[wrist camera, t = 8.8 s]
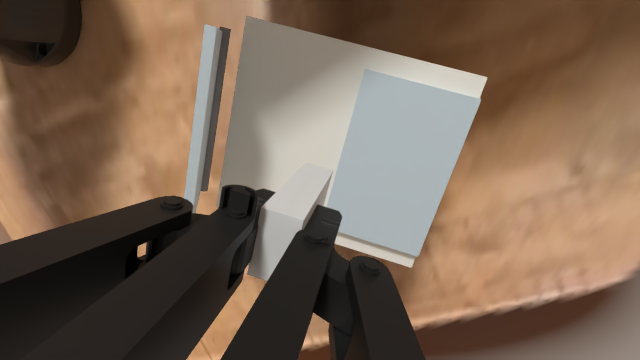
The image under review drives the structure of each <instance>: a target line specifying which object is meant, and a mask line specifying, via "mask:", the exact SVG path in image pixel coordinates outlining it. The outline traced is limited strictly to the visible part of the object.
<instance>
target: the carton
mask: <svg viewBox="0 0 640 360" xmlns="http://www.w3.org/2000/svg"><path fill="white" fill-rule="evenodd" d="M487 78H488V77H484V76H480V75H477V74H473V73H469V72H465V71H461V70H457V69H453V68H449V67H445V66H441V65H437V64H433V63H429V62H426V61H422V60H418V59H414V58H410V57H406V56H402V55H398V54H394V53H390V52H386V51H382V50H379V49H375V48H371V47H367V46H363V45H359V44H355V43H351V42H347V41H343V40H339V39H335V38H331V37H328V36H324V35H320V34H316V33H312V32H308V31H304V30H300V29H296V28H292V27H288V26H284V25H280V24H277V23H273V22H269V21H265V20H261V19H257V18H253V17H249V16H246V21H245V27H244V34H243V40H242V46H241V53H240V59H239V66H238V72H237V79H236V85H235V91H234V98H233V104H232V111H231V117H230V123H229V130H228V136H227V143H226V149H225V155H224V162H223V168H222V175H221V181H220V187H219V194H218V200H217V206H218V207H219V203H220V197H221V191H222V187H223V186H226V185H233V184H234V185H243V186H247V187H250V188H252V189H254V190H259V189H263V188H264V189H267V190H270V191H274V192H277V191H278V190H279V189H280V188H281V187H282V186H283V185H284V184H285V183H286V182H287V181H288V180H289V179H290V178H291V177H292V176H293V175H294V174H295V173H296V172H297V171H298V170H299V169H300V168H301V167H302V166H303V165H304V164H305V163H306V162H307V163H310V164H314V165H317V166H320V167H324V168H327V169H330V170H333V173H332V177H331V180H330V184H329V188H328V191H327V195H326V199H325V202H324V206H325V207H328V208H331V209H334V210H337V211H340V213H341V215H342V220H341V223H340V227H339V230H338V233H337V237H336V240H335V243H334V244H338V245H341V246H344V247H347V248H350V249H353V250H356V251H360V252H363V253H366V254H369V255H372V256H375V257H379V258H382V259H385V260H388V261H391V262H394V263H397V264H401V265H404V266H407V267H410V268H412V265H413V263H414V260H415V258H416V256H417V257H418V256H419V253H420V251H421V248H422V246H423V243H424V241H425V238H426V236H427V233H428V231H429V229H430V226H431V224H432V221H433V219H434V216H435V214H436V211H437V209H438V206H439V204H440V201H441V199H442V196H443V194H444V191H445V189H446V186H447V184H448V181H449V179H450V176H451V174H452V172H453V169H454V167H455V164H456V162H457V159H458V157H459V154H460V152H461V149H462V147H463V144H464V142H465V139H466V137H467V134H468V132H469V129H470V127H471V124H472V122H473V120H474V117H475V115H476V112H477V110H478V107H479V105H480V102H481V100H482V99H479V98H480V96H481V93H482V91H483V88H484V86H485V83H486V81H487Z"/></svg>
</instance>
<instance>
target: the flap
mask: <svg viewBox="0 0 640 360" xmlns="http://www.w3.org/2000/svg"><path fill="white" fill-rule="evenodd" d="M230 31H231V29H227V28H224V27H220V29H218V28H217V27H214V26H210V25H206V24H205V27H204V35H203V44H202V52H201V60H200V69H199V77H198V86H197V94H196V102H195V111H194V119H193V128H192V136H191V145H190V153H189V161H188V170H187V178H186V187H185V195H184V199H187V200H188V201H190V202H191V203H192V204H193V212H192V213H195V212H196V207H197V203H198V199H199V195H200V191H207V190H208V184H209V177H210V170H211V163H212V156H213V149H214V142H215V135H216V128H217V121H218V114H219V107H220V101H221V94H222V87H223V80H224V73H225V66H226V59H227V52H228V45H229V38H230Z"/></svg>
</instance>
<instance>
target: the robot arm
mask: <svg viewBox="0 0 640 360" xmlns="http://www.w3.org/2000/svg"><path fill="white" fill-rule="evenodd" d="M80 27H81V9H80V3H79V0H0V59H2V60H5V61H8V62H11V63H14V64H18V65H24V66H40V67H46V66H52V65H55V64H57V63H59V62H61V61H63V60H64V59H65V58H66V57H67V56H68V55H69V54H70V53H71V52H72V50H73V49H74V47H75V45H76V43H77V40H78V37H79V33H80ZM332 173H333V170H330V169H327V168H324V167H320V166H317V165H314V164H310V163H307V162H306V163H305V164H304V165H303V166H302V167H301V168H300V169H299V170H298V171H297V172H296V173H295V174H294V175H293V176H292V177H291V178H290V179H289V180H288V181H287V182H286V183H285V184H284V185H283V186H282V187H281V188H280V189H279V190H278V191H277V192H274V191H270V190H267V189H264V188H263V189H259V190H254V189H252V188H250V187H247V186H243V185H234V184H233V185H226V186H223V187H222V191H221V197H220V203H219V208H218V209H217V210H216V211H215V212H213V213H212V214H211V215H202V214H196V213H192V212H193V204H192V203H191V202H190V201H188V200H187V199H184V198H182V197H178V196H177V197H176V196H164V197H158V198H155V199H151V200H148V201H145V202H141V203H138V204H135V205H131V206H128V207H125V208H121V209H118V210H115V211H111V212H108V213H105V214H101V215H98V216H95V217H91V218H88V219H85V220H81V221H78V222H74V223H71V224H68V225H64V226H61V227H58V228H54V229H51V230H48V231H44V232H41V233H38V234H34V235H31V236H28V237H24V238H21V239H18V240H14V241H11V242H8V243H5V244H1V245H0V360H186V359H187V358H188V356H189V355H190V353H191V352H192V351H193V349H194V348H195V346H196V345H197V344H198V342H199V341H200V339H201V338H202V337H203V335H204V334H205V332H206V331H207V330H208V328H209V327H210V325H211V324H212V322H213V321H214V320H215V318H216V317H217V315H218V314H219V313H220V311H221V310H222V308H223V307H224V306H225V304H226V303H227V301H228V300H229V299H230V297H231V296H232V294H233V293H234V292H235V290H236V289H237V287H238V286H239V285H240V283H241V282H242V279H243V275H244V270H245V268H246V267H247V265H248V264H249V263H250V264H249V269H248V273H247V274H248V275H251V276H254V277H257V278H260V279H263V280H266V281H267V283H266V284H265V286H264V288H263V289H262V291H261V293H260V294H259V296H258V298H257V299H256V301H255V303H254V304H253V306H252V308H251V309H250V311H249V313H248V314H247V316H246V318H245V319H244V321H243V323H242V324H241V326H240V328H239V329H238V331H237V333H236V335H235V336H234V338H233V340H232V341H231V343H230V345H229V346H228V348H227V350H226V351H225V353H224V355H223V356H222V358H221V360H298V358H299V355H300V352H301V349H302V345H303V342H304V339H305V336H306V333H307V330H308V327H309V324H310V321H311V318H312V314H313V313H315V314H316V315H318V316H320V317H321V318H323V319H324V320H326V321H327V322H329V323H330V324H329V330H328V331H329V343H330V354H331V360H425V357H424V355H423V352H422V350H421V347H420V345H419V342H418V340H417V337H416V335H415V332H414V330H413V327H412V325H411V322H410V320H409V317H408V315H407V312H406V310H405V307H404V305H403V302H402V300H401V297H400V295H399V292H398V290H397V288H396V285H395V283H394V280H393V278H392V275H391V273H390V271H389V269H388V268H387V267H386V266H385V265H384V264H382V263H381V262H380V261H378V260H376V259H374V258H370V257H366V256H357V257H353V258H352V259H351V260H350V262H349V261H347V260H346V259H344V258H343V257H341V256H340V255H339V254H338V253H337V252H336V251H335V249H334V243H335V240H336V237H337V233H338V230H339V227H340V223H341V220H342V215H341V213H340V211H337V210H334V209H331V208H328V207H325V206H324V202H325V199H326V195H327V191H328V188H329V184H330V180H331V177H332ZM146 242H147V245H146V255H143V256H141V257H137V248H138V246H139V245H141V244H143V243H146Z"/></svg>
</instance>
